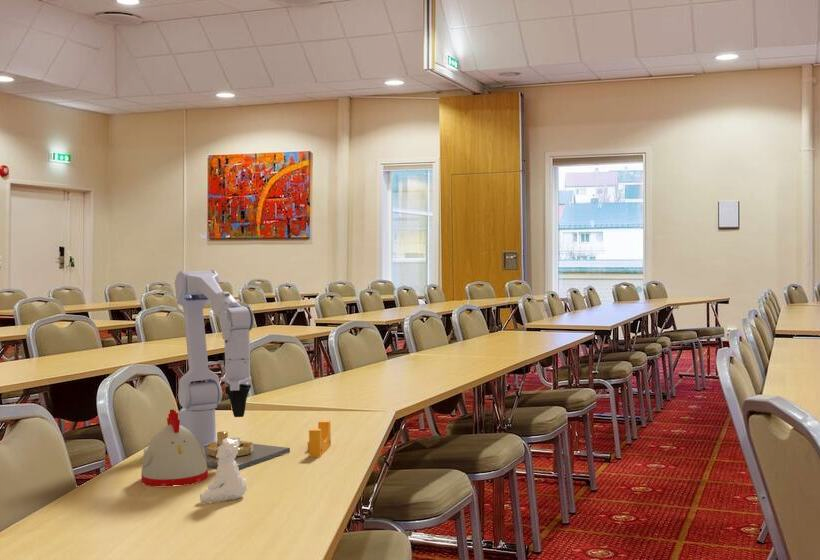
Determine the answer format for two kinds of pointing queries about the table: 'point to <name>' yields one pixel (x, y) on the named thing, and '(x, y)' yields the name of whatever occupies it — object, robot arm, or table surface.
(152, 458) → the kitchen timer
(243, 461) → the housing
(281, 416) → the table surface
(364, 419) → the table surface
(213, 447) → the ring nut
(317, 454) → the pipe clamp
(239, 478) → the seated beast figurine
